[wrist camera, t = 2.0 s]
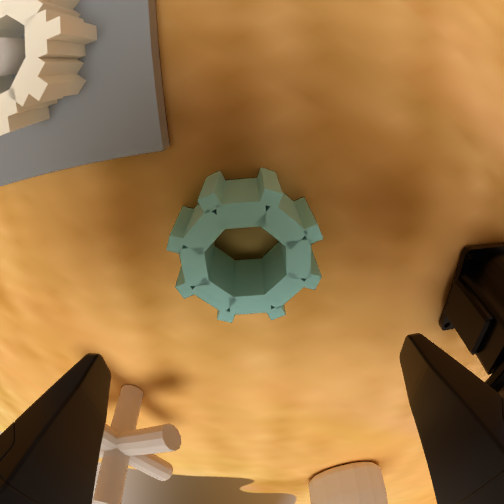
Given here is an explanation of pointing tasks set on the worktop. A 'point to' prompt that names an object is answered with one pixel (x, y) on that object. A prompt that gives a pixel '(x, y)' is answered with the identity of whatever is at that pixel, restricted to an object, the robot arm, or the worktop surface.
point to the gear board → (95, 97)
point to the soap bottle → (349, 485)
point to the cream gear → (42, 58)
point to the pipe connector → (132, 448)
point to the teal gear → (251, 270)
